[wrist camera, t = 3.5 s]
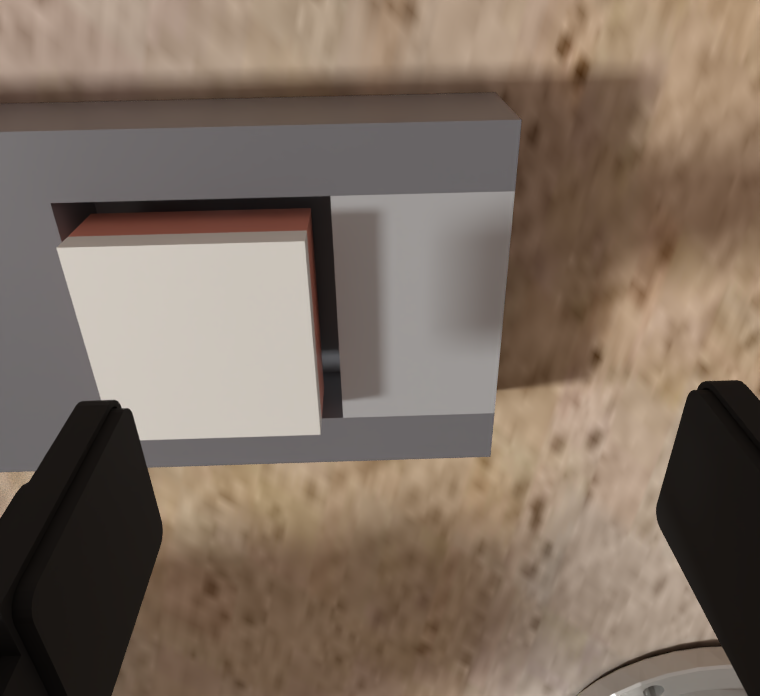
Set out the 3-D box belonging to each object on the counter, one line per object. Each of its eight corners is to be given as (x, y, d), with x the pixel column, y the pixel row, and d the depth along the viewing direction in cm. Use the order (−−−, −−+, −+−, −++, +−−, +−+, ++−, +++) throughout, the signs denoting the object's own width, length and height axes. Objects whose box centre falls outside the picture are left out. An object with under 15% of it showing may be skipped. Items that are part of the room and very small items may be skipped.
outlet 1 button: (310, 208, 15) (304, 241, 13) (324, 387, 18) (320, 434, 16) (91, 214, 15) (56, 247, 13) (137, 392, 17) (113, 440, 16)
